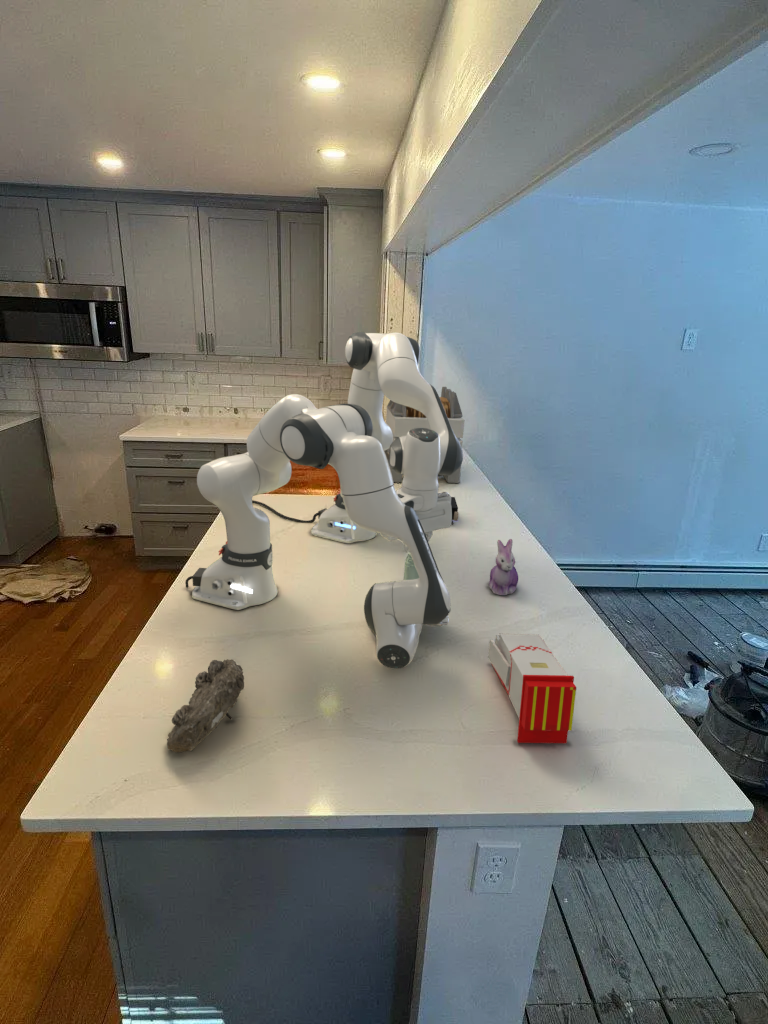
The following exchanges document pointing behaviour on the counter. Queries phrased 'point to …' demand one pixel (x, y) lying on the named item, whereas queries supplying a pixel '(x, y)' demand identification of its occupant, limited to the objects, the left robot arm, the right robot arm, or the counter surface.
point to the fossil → (206, 705)
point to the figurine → (504, 571)
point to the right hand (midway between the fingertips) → (415, 549)
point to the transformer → (424, 425)
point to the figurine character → (454, 510)
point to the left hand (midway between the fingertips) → (412, 593)
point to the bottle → (410, 569)
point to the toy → (534, 687)
